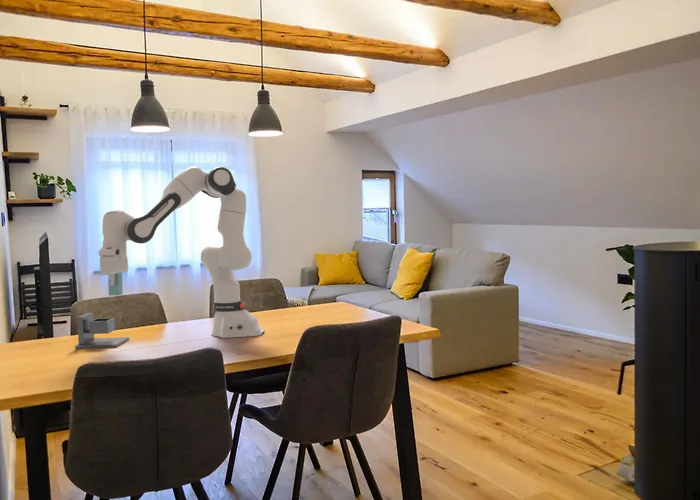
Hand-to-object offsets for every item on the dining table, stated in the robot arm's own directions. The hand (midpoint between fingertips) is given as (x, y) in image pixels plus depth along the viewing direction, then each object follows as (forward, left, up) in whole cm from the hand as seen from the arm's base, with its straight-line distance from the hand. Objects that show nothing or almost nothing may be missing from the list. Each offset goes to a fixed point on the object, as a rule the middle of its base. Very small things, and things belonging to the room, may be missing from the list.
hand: (115, 284), depth 228 cm
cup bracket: (+6, 0, -24) cm, 25 cm away
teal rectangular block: (0, 0, -4) cm, 4 cm away
